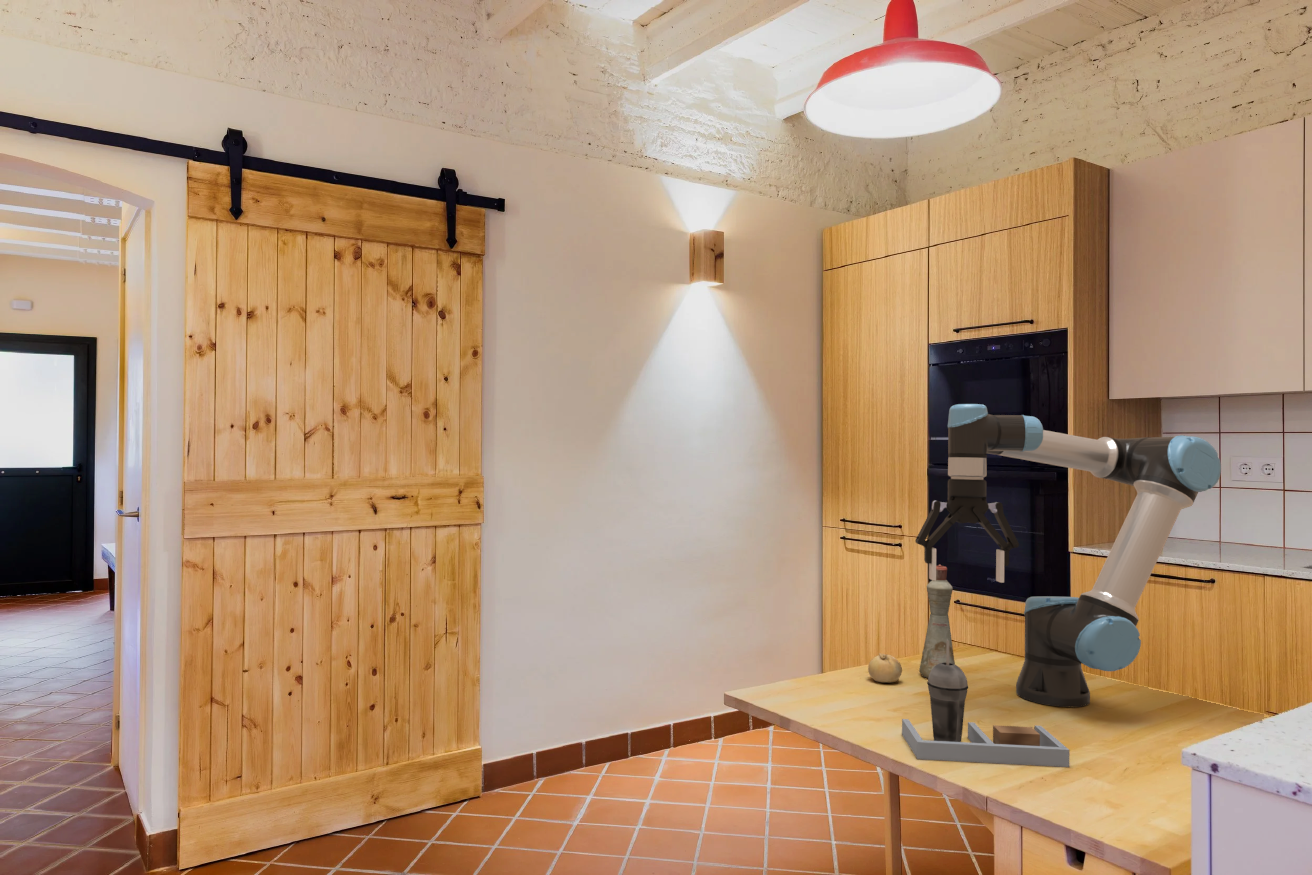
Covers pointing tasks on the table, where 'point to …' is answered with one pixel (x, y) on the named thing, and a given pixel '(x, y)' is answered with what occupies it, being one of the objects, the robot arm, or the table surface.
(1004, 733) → the walnut bar
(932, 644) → the bottle
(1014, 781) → the table surface
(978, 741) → the slot rack
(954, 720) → the beverage cup
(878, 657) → the onion
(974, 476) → the robot arm
